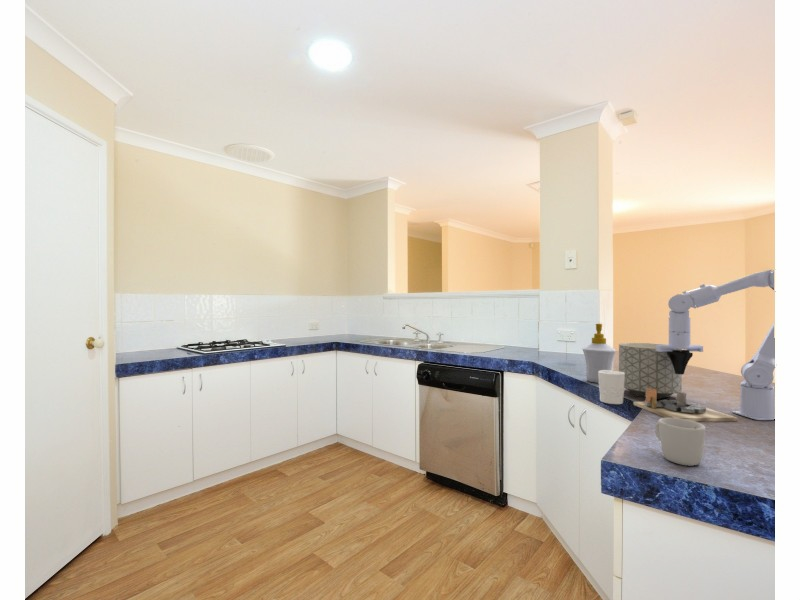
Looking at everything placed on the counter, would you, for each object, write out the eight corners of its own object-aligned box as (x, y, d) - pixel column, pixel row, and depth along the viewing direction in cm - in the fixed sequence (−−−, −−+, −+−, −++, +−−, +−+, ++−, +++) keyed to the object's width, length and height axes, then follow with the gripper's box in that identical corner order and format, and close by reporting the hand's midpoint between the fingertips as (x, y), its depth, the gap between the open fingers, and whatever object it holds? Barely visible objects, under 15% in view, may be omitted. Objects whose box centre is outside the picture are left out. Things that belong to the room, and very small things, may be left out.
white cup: (628, 405, 125) (628, 374, 125) (602, 404, 127) (602, 373, 127) (619, 399, 133) (620, 370, 133) (595, 398, 134) (595, 369, 135)
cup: (640, 449, 87) (640, 413, 87) (673, 448, 88) (673, 413, 88) (678, 470, 76) (678, 429, 76) (716, 468, 77) (716, 428, 77)
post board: (686, 404, 127) (686, 386, 127) (736, 421, 109) (736, 399, 109) (633, 404, 126) (633, 386, 126) (675, 421, 108) (675, 400, 108)
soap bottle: (616, 381, 166) (616, 323, 166) (614, 386, 155) (615, 324, 155) (584, 377, 172) (584, 322, 173) (580, 382, 162) (580, 323, 162)
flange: (696, 405, 121) (696, 389, 121) (711, 414, 110) (711, 397, 111) (641, 400, 126) (641, 385, 126) (650, 409, 116) (650, 392, 116)
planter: (639, 388, 152) (639, 342, 152) (693, 399, 134) (693, 347, 135) (607, 392, 143) (607, 343, 144) (660, 405, 126) (660, 349, 126)
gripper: (690, 331, 130) (690, 371, 129) (649, 330, 129) (649, 371, 129) (708, 332, 123) (708, 375, 122) (664, 332, 122) (664, 375, 122)
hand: (679, 373), depth 125 cm, fingers closed
